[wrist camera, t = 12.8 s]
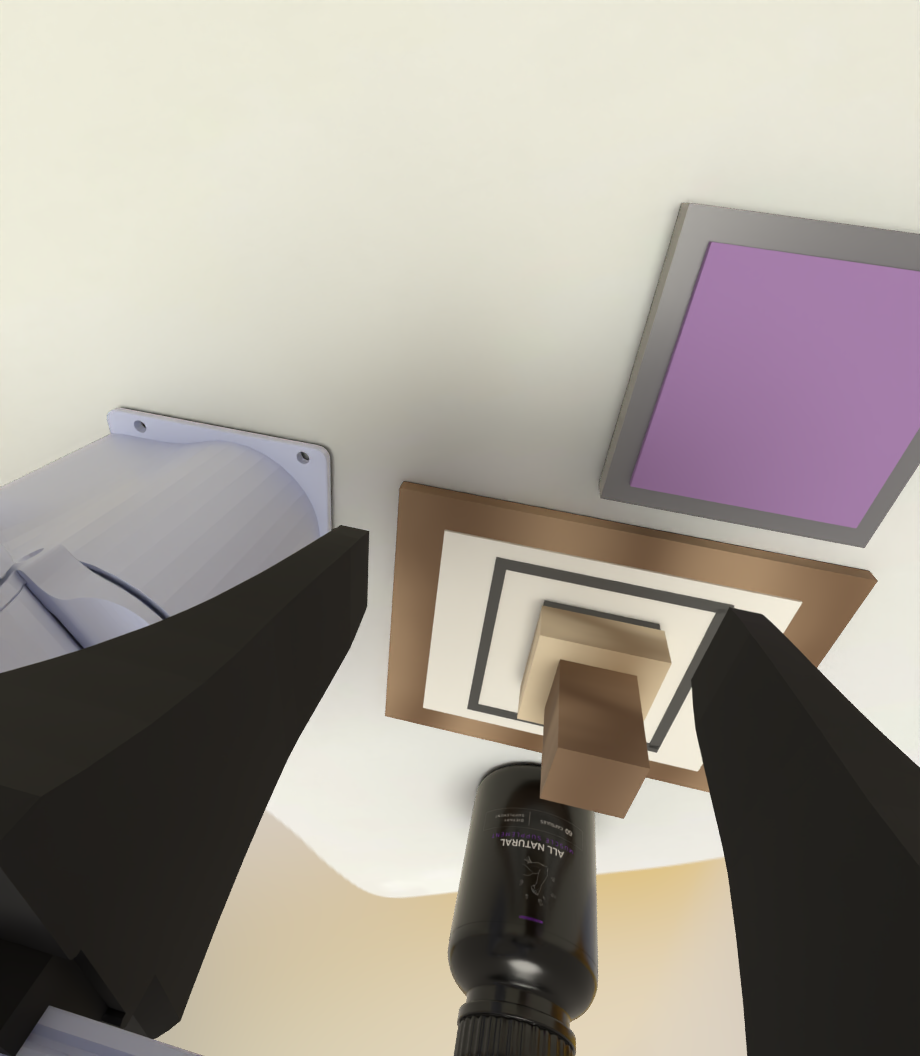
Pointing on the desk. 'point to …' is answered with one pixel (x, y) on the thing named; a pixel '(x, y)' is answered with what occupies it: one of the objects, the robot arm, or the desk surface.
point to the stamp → (592, 703)
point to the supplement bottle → (524, 920)
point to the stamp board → (582, 581)
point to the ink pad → (775, 376)
